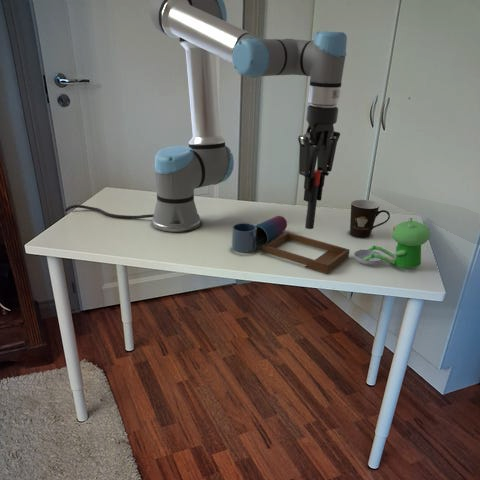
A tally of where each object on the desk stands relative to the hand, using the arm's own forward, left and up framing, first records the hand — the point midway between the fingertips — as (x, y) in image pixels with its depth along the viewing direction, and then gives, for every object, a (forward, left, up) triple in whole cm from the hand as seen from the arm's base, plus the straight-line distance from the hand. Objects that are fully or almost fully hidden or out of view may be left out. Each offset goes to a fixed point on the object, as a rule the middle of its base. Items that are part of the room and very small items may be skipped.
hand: (312, 200), depth 128 cm
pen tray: (0, 0, -16) cm, 16 cm away
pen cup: (-16, -8, -16) cm, 24 cm away
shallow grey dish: (+15, +11, -18) cm, 26 cm away
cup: (-16, +11, -13) cm, 23 cm away
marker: (0, 0, -8) cm, 8 cm away
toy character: (+21, +11, -17) cm, 29 cm away
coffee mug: (+7, +26, -17) cm, 32 cm away
